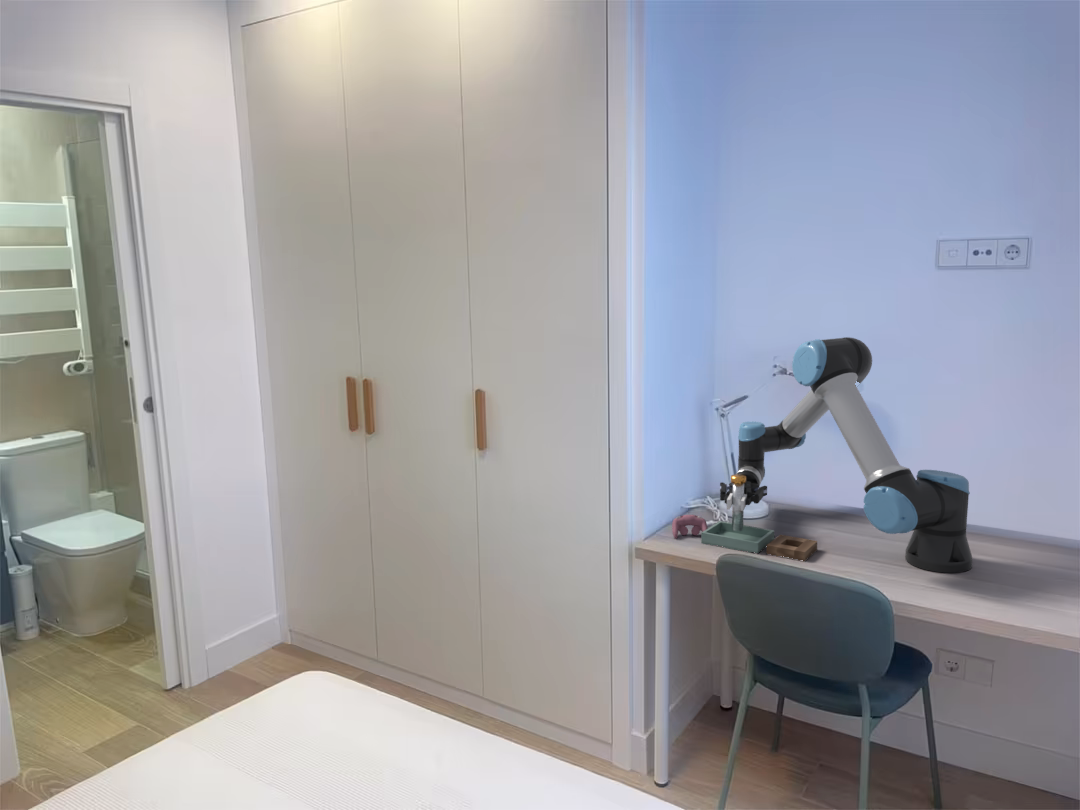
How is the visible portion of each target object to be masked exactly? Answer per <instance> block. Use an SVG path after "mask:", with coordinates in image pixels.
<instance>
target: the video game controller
mask: <svg viewBox="0 0 1080 810" xmlns="http://www.w3.org/2000/svg"><path fill="white" fill-rule="evenodd" d="M687 526H691V527H692V528H691V529H690V531H691V535H693V536H698V535H699V534H700V533H702V532H703V531H705V530H706V529H708V528H709V527H708V524H707V521H706V519H705V518H703V517H702V516H699V515H695V514H683V515H680V516H679V515H678V516H676V517H675V518H673V520H672V523H671V531H672V537H673V538H674V539H675V540H676V539H678V537H679V534H680V535H681V536H686V535H688V534H689V530H688V528H687ZM700 531H701V532H700Z"/></svg>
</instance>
